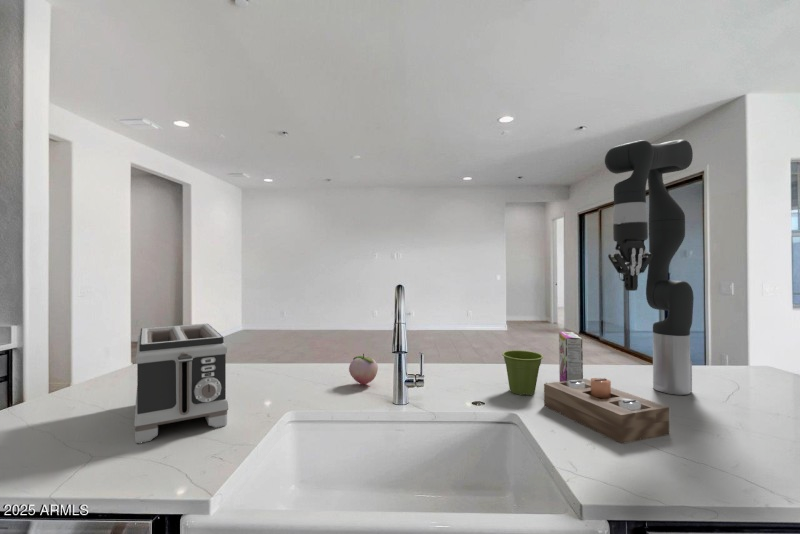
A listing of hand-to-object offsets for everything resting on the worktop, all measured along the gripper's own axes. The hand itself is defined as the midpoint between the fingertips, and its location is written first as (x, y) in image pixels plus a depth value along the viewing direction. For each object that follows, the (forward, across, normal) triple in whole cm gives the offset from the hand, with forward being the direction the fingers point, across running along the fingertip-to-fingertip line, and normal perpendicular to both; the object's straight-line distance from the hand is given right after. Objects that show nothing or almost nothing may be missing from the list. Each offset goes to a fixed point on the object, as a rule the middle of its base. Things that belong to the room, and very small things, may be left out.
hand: (631, 290), depth 99 cm
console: (+31, +10, 0) cm, 33 cm away
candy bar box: (+32, -2, -23) cm, 39 cm away
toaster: (+30, +108, -37) cm, 118 cm away
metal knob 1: (+28, +10, -8) cm, 31 cm away
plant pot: (+31, +15, -24) cm, 43 cm away
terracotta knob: (+25, +10, 0) cm, 27 cm away
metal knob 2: (+28, +10, +8) cm, 31 cm away
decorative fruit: (+31, +58, -48) cm, 81 cm away
